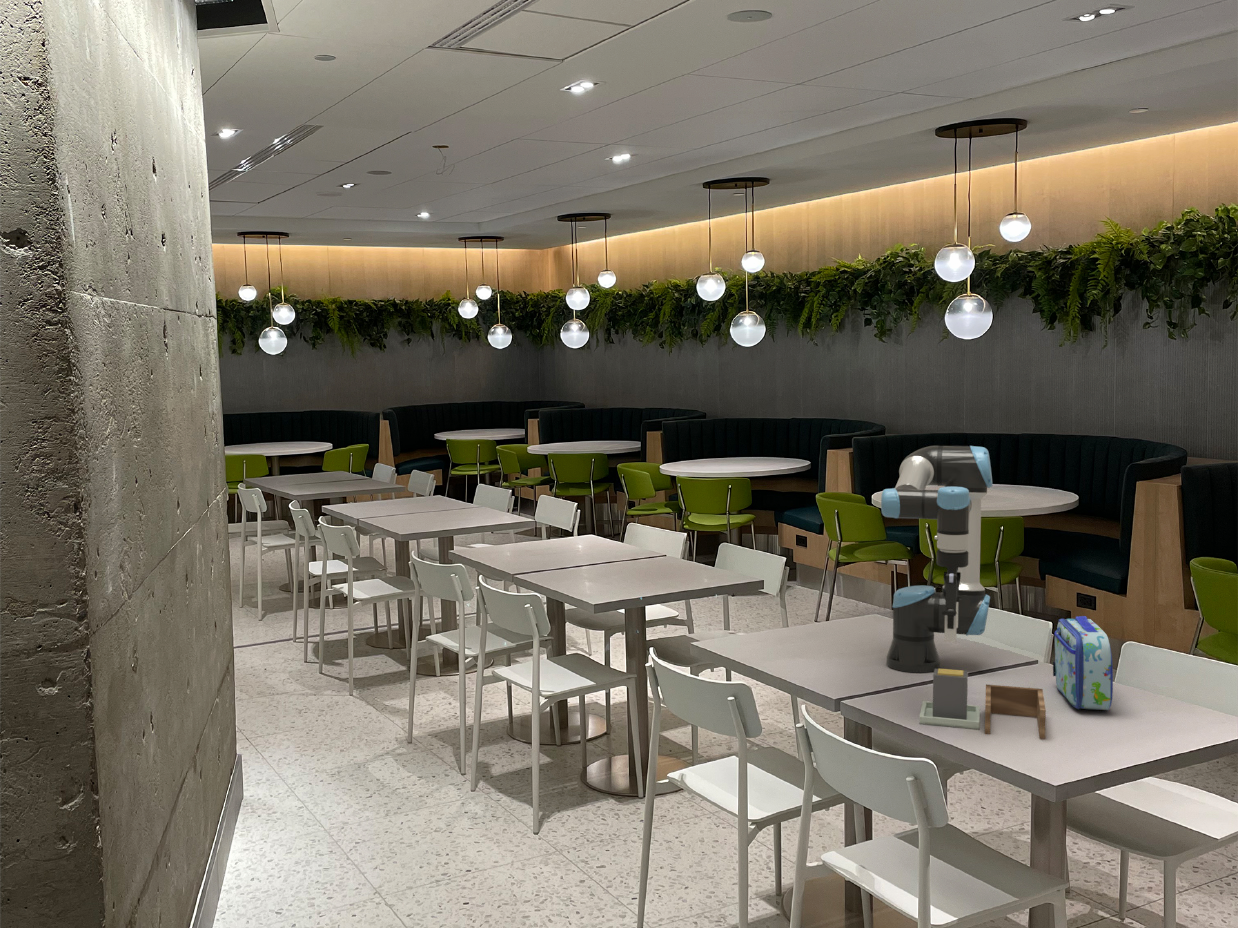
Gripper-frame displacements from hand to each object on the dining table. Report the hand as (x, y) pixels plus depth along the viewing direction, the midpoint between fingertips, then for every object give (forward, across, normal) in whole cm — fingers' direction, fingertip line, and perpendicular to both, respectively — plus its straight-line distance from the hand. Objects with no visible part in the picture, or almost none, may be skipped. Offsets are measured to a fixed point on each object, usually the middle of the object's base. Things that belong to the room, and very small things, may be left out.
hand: (951, 633), depth 264 cm
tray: (+21, +1, 0) cm, 21 cm away
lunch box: (+22, -24, +32) cm, 46 cm away
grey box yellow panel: (+21, +1, 0) cm, 21 cm away
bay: (+21, +1, +15) cm, 26 cm away
